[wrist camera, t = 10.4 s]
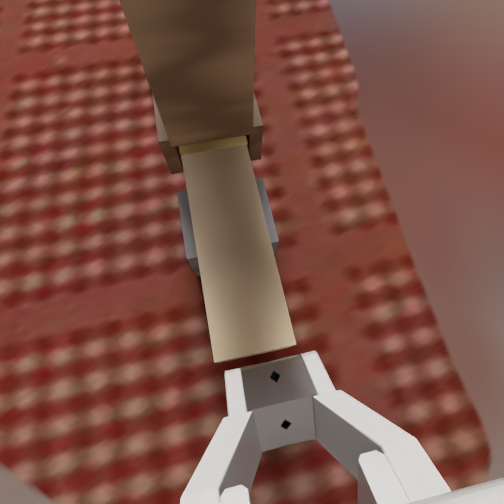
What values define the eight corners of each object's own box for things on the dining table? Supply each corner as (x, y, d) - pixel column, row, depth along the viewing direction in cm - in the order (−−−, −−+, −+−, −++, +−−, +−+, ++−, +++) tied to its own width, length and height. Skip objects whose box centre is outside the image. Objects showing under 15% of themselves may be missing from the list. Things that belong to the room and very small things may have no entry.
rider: (171, 174, 21) (69, -80, 9) (165, 127, 22) (69, -146, 10) (260, 159, 21) (277, -100, 9) (249, 114, 23) (250, -160, 11)
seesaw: (210, 366, 21) (184, 367, 12) (177, 152, 27) (145, 55, 18) (295, 347, 21) (326, 336, 13) (244, 141, 27) (243, 42, 19)
